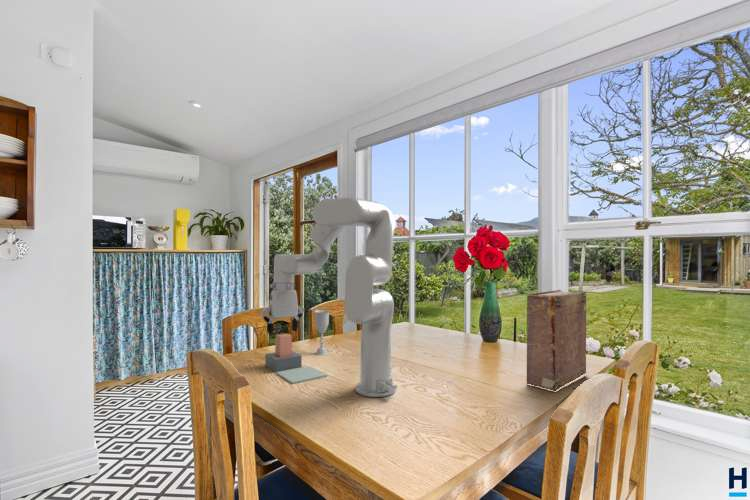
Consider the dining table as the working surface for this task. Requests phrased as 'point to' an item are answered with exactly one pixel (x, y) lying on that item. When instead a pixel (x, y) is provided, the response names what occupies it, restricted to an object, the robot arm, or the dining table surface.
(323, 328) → the chalice
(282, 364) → the grey square socket block
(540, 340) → the book
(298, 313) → the robot arm
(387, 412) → the dining table surface
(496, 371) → the dining table surface
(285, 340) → the plug
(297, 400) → the dining table surface
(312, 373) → the mat
